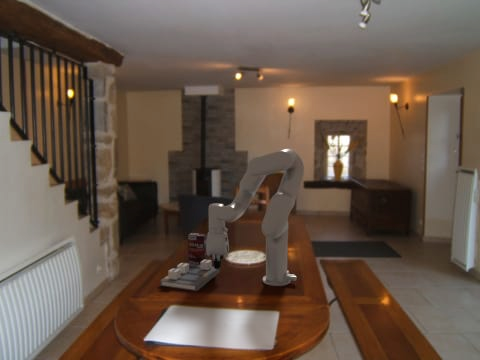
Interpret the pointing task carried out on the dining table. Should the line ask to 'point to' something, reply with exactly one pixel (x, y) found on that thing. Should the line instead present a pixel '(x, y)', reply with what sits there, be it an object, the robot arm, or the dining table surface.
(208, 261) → the switch
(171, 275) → the switch
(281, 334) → the dining table surface
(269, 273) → the robot arm
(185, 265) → the switch
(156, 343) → the dining table surface
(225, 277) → the dining table surface
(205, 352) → the dining table surface
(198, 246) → the supplement box
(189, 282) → the switch unit
